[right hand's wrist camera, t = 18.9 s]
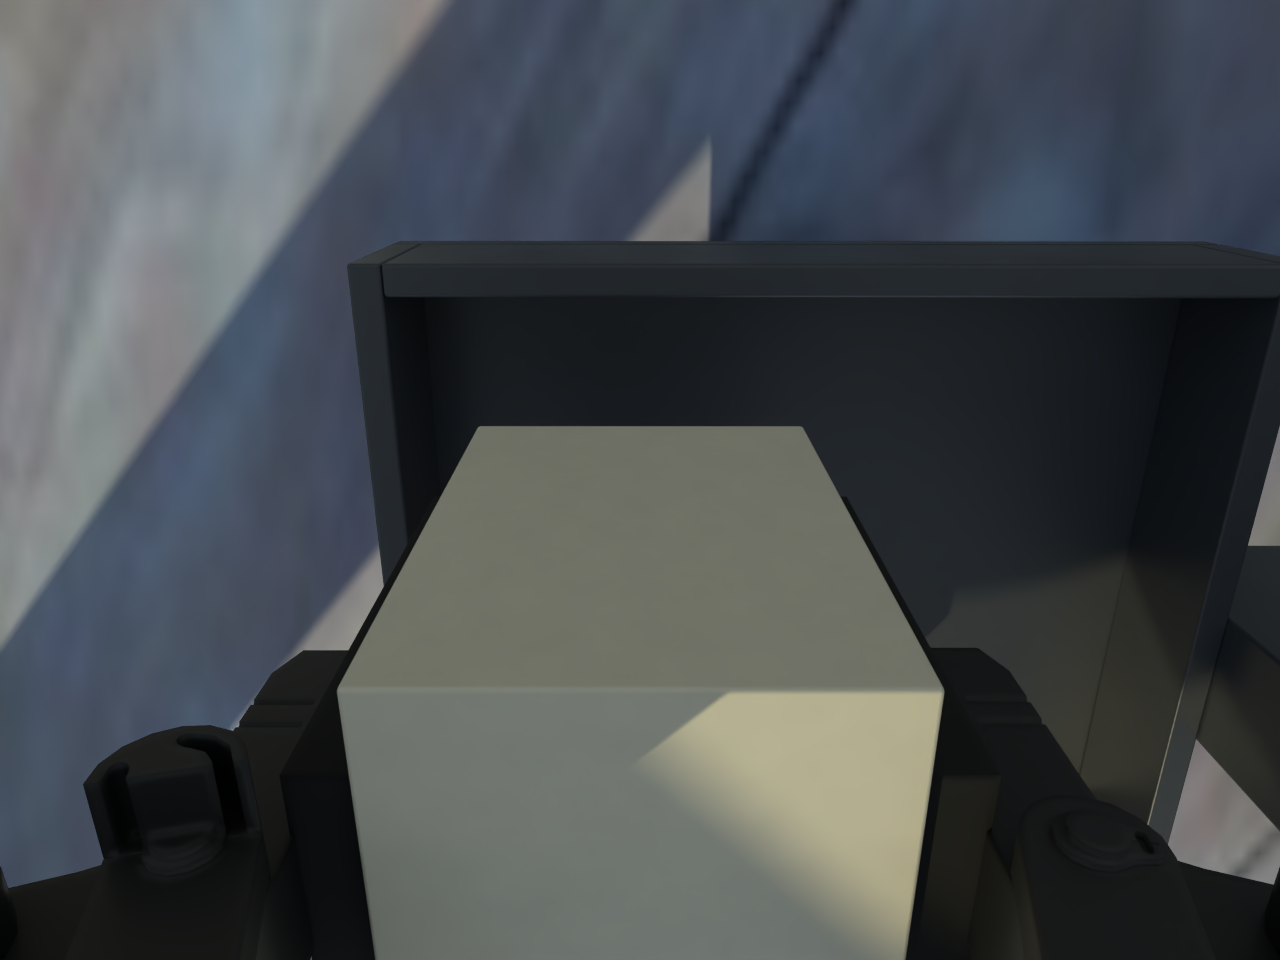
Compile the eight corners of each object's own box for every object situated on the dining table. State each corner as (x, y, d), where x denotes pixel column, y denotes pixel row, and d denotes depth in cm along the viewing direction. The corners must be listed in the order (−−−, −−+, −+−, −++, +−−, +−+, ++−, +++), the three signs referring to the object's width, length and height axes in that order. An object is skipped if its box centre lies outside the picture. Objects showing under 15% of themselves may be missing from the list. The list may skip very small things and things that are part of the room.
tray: (456, 867, 26) (363, 1227, 17) (398, 240, 19) (207, 325, 11) (1424, 871, 25) (1809, 1237, 17) (1679, 241, 19) (2482, 328, 11)
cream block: (496, 699, 16) (394, 1105, 9) (477, 425, 14) (334, 688, 7) (784, 699, 16) (885, 1106, 9) (802, 425, 14) (946, 688, 7)
